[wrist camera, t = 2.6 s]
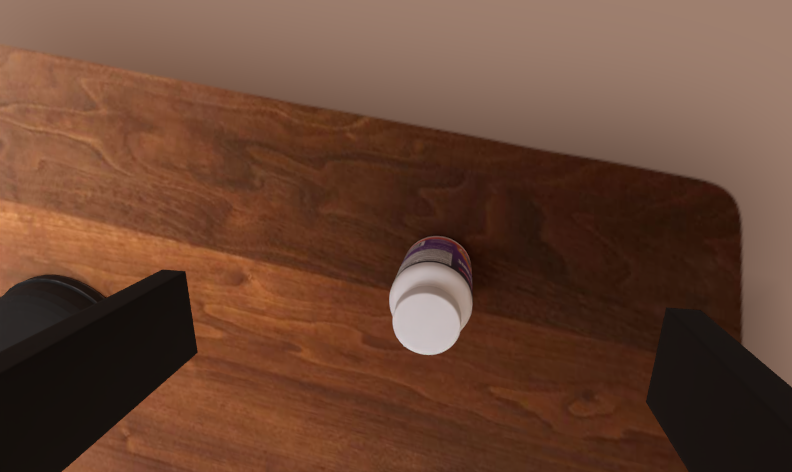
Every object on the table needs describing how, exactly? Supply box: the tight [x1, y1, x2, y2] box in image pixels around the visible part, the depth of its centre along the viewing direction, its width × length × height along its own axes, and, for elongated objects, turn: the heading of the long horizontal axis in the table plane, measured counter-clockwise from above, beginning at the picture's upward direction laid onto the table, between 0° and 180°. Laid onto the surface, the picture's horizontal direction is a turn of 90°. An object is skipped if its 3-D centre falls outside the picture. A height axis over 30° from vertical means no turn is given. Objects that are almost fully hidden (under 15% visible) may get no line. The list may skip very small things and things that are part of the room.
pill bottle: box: [389, 236, 473, 355], centre depth 28 cm, size 5×5×10 cm
